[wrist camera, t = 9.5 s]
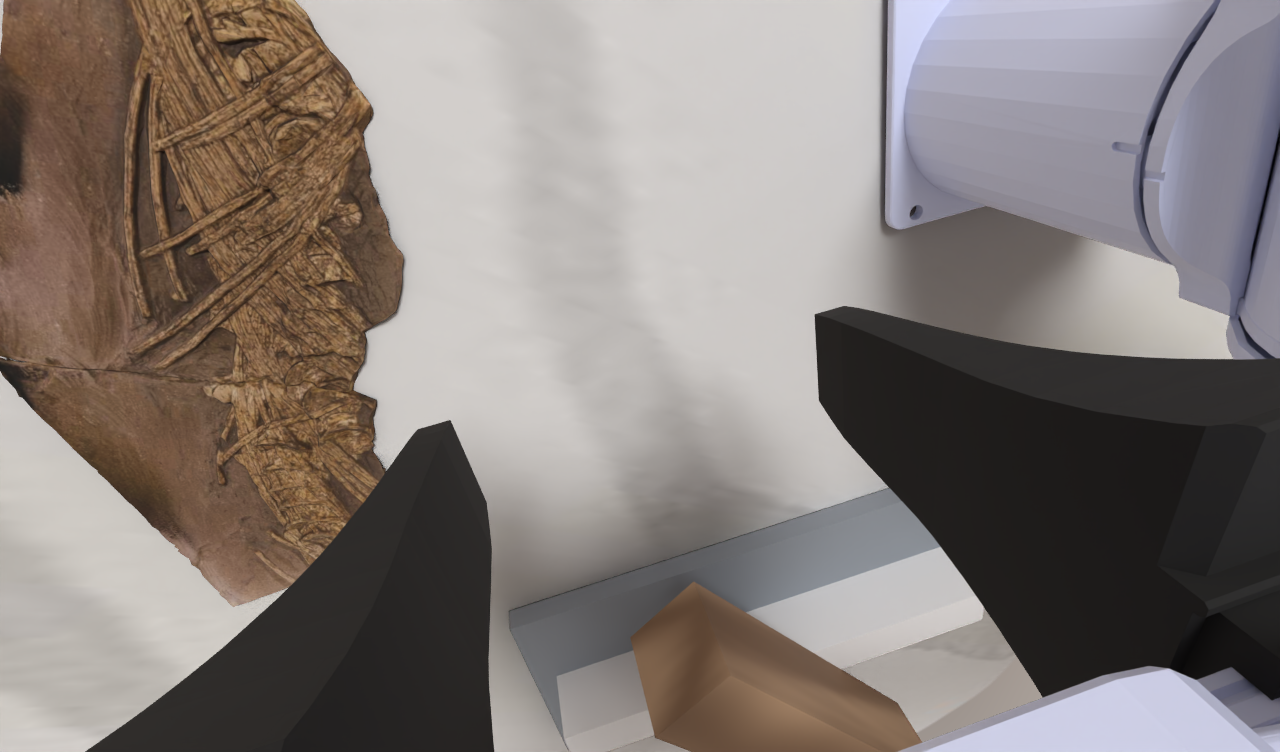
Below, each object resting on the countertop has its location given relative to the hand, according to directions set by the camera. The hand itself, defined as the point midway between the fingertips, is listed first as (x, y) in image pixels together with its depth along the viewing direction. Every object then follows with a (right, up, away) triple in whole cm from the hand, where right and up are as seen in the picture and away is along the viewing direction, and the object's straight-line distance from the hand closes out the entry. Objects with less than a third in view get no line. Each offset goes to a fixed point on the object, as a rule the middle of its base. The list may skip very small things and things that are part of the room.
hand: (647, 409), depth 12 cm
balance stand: (+5, -11, +19) cm, 23 cm away
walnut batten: (+6, -13, +16) cm, 21 cm away
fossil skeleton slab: (-13, +4, +7) cm, 15 cm away
